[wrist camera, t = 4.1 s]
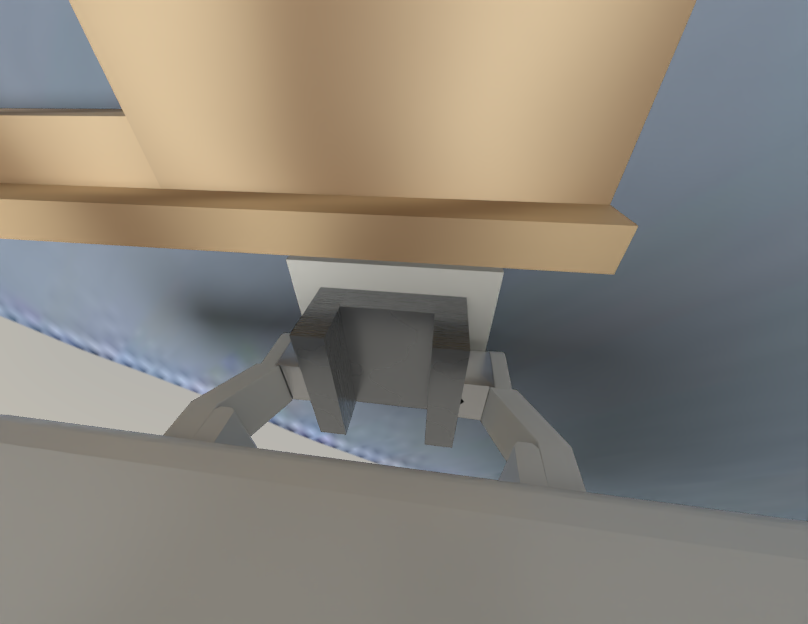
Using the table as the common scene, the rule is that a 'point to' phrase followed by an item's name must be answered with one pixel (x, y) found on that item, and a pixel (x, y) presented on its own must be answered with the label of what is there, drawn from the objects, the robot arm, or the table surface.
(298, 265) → the white square plate
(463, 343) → the clip
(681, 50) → the table surface
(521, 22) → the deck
